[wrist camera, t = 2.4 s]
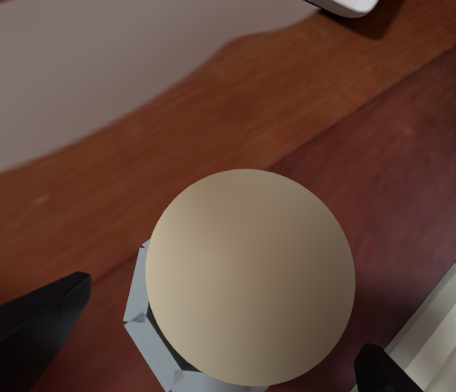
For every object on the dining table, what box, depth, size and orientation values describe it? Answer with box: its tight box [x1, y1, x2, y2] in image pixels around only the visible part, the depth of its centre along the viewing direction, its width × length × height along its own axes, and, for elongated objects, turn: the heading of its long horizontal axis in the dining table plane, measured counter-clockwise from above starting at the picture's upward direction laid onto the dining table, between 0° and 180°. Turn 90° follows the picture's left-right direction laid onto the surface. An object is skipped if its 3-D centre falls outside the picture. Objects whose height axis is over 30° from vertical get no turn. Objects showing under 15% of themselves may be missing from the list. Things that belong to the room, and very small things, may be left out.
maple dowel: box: [145, 169, 355, 386], centre depth 12 cm, size 4×4×13 cm
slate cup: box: [123, 239, 270, 392], centre depth 16 cm, size 9×9×4 cm
